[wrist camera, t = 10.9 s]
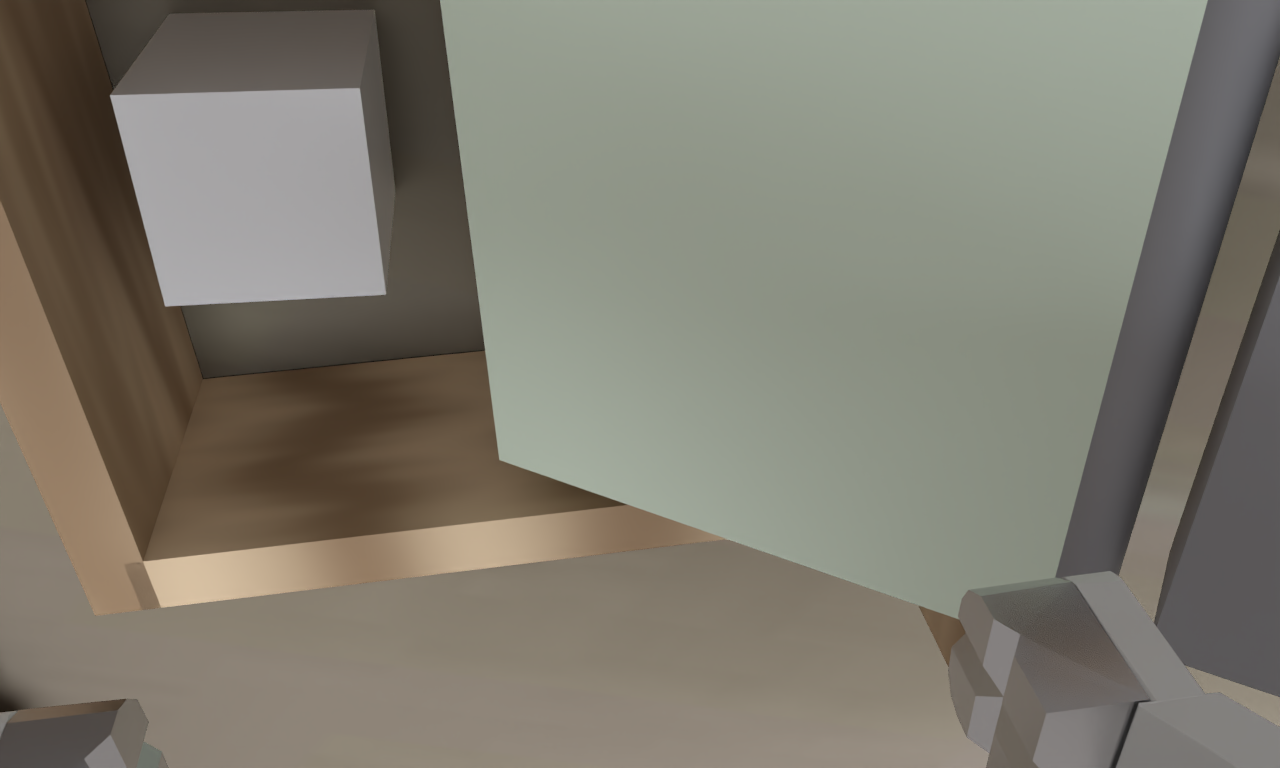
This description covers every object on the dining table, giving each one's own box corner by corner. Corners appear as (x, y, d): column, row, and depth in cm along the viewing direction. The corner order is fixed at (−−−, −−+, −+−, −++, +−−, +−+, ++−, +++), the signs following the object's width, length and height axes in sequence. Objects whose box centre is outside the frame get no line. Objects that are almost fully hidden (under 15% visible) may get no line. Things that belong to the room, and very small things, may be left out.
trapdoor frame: (1102, -405, 22) (1814, -447, 10) (971, 342, 32) (1262, 734, 21) (-113, -367, 20) (-903, -369, 8) (163, 426, 30) (-15, 922, 18)
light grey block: (109, 95, 20) (169, 13, 24) (165, 306, 22) (210, 198, 26) (359, 87, 20) (374, 9, 24) (385, 294, 23) (395, 190, 27)
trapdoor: (1730, -218, 11) (1799, -184, 9) (1299, 681, 19) (1290, 796, 17) (479, -247, 18) (375, -229, 16) (545, 433, 26) (480, 498, 24)
